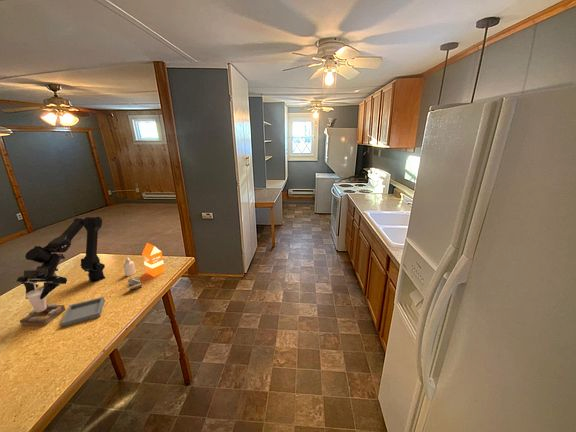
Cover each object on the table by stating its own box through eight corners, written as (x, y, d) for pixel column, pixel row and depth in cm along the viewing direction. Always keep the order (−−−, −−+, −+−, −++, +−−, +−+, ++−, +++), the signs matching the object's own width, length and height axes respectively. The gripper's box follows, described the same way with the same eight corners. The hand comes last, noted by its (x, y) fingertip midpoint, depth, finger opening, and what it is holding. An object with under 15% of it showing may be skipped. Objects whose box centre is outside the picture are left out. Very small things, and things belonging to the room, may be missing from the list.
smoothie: (53, 307, 114) (45, 282, 109) (36, 315, 108) (27, 290, 104) (45, 303, 116) (37, 279, 111) (28, 312, 110) (18, 286, 105)
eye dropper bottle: (125, 273, 150) (121, 257, 147) (135, 271, 154) (132, 254, 150) (125, 276, 147) (121, 260, 143) (136, 274, 150) (132, 257, 146)
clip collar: (44, 309, 118) (42, 303, 117) (65, 310, 118) (63, 303, 117) (21, 325, 108) (19, 319, 107) (45, 325, 108) (42, 319, 107)
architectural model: (142, 289, 136) (139, 278, 134) (128, 294, 132) (125, 282, 129) (141, 286, 138) (139, 275, 136) (127, 291, 134) (124, 279, 132)
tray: (70, 309, 119) (69, 305, 118) (104, 300, 125) (103, 296, 125) (62, 327, 107) (60, 323, 107) (100, 316, 114) (99, 312, 113)
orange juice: (153, 277, 147) (148, 248, 141) (145, 272, 152) (140, 244, 146) (165, 271, 154) (160, 243, 147) (157, 267, 158) (152, 240, 152)
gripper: (13, 261, 108) (-6, 296, 101) (54, 261, 108) (38, 296, 101) (36, 267, 118) (20, 299, 111) (73, 267, 118) (60, 299, 111)
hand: (34, 298), depth 108 cm, fingers closed on smoothie, 6 cm apart
